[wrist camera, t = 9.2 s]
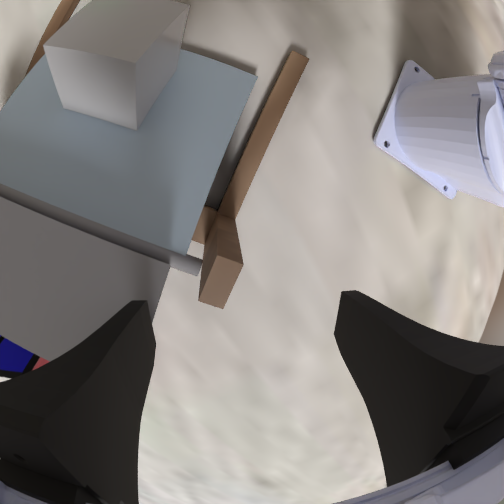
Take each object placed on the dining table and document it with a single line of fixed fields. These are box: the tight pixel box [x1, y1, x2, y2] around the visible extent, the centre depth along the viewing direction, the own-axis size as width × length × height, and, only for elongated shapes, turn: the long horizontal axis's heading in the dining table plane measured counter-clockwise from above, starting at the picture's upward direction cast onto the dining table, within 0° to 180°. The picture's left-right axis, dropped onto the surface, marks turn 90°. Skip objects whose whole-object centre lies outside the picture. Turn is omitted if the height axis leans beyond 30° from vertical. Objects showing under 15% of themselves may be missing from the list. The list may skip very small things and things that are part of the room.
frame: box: [25, 0, 309, 309], centre depth 13 cm, size 19×14×8 cm
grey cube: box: [43, 0, 190, 131], centre depth 11 cm, size 5×5×5 cm
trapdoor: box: [0, 49, 258, 361], centre depth 12 cm, size 16×18×3 cm
